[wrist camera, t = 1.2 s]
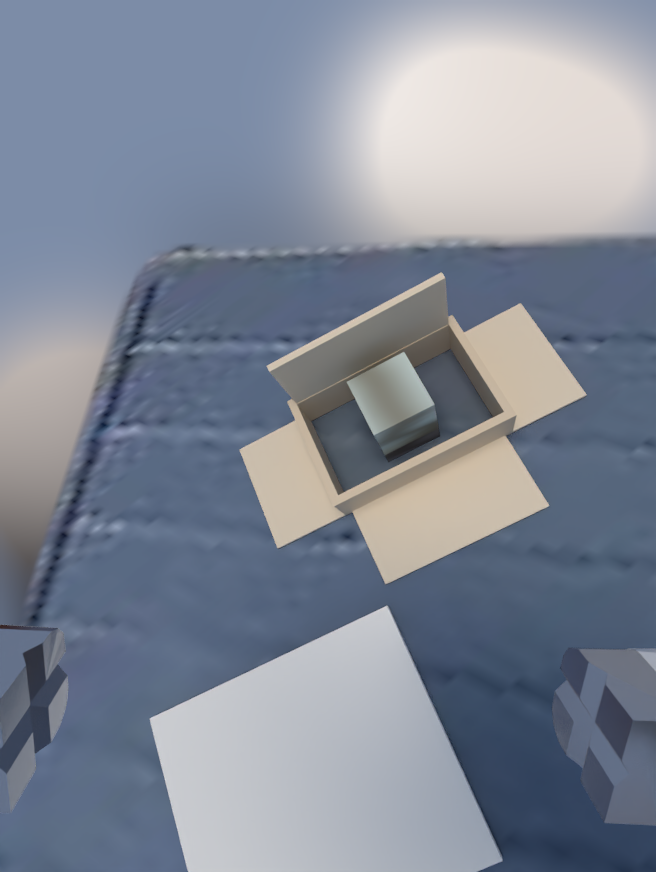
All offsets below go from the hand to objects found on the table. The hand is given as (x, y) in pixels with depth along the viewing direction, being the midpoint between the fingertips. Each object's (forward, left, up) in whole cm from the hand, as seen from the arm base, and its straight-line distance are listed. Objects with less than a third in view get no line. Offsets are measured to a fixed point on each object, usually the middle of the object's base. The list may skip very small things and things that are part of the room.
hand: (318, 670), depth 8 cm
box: (-4, -14, -31) cm, 34 cm away
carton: (-4, -11, -31) cm, 33 cm away
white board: (+13, +6, -31) cm, 34 cm away
